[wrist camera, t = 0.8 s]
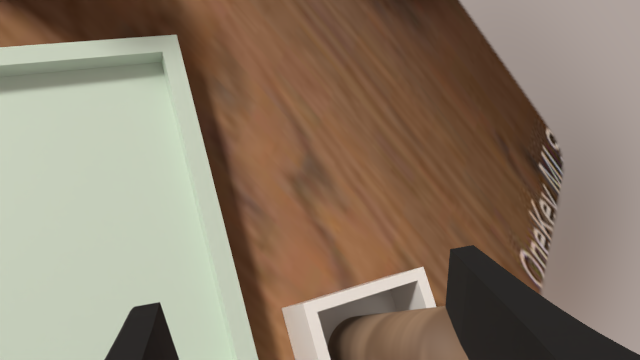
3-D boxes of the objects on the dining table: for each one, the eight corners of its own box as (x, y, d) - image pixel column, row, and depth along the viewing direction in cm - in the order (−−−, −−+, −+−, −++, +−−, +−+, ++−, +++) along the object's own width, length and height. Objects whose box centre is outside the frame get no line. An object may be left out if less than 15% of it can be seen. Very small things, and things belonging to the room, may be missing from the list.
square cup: (427, 394, 30) (467, 401, 27) (317, 441, 27) (344, 456, 24) (390, 275, 32) (423, 266, 28) (281, 308, 29) (302, 303, 25)
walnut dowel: (400, 376, 29) (537, 394, 19) (338, 401, 28) (453, 434, 18) (380, 307, 30) (501, 290, 20) (318, 327, 29) (417, 320, 19)
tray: (257, 388, 27) (266, 391, 25) (-57, 501, 22) (-74, 515, 20) (173, 52, 31) (176, 34, 29) (-110, 76, 26) (-128, 56, 24)
